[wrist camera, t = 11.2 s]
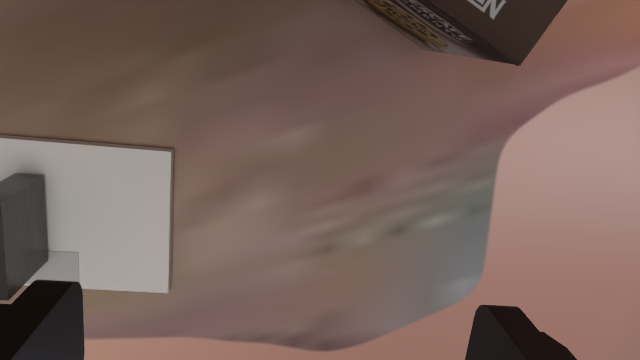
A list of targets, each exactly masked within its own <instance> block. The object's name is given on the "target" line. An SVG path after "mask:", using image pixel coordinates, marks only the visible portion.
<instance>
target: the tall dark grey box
mask: <svg viewBox="0 0 640 360" xmlns="http://www.w3.org/2000/svg"><path fill="white" fill-rule="evenodd" d="M47 261H48V258H47V239H46V220H45V202H44V183H43V175H30V174H17V173H15V174H13V175H11V176H9V177H7V178H6V179H4V180H2V181H0V300H9V299H10V298H11V297H12V296H13V295H14V294H15V293H16V292H17V291H18V290H19V289H20V288H21V287H22V286H23V285H24V284H25V283H26V282H27V281H28V280H29V279H30V278H31V277H32V276H33V275H34V274H35V273H36V272H37V271H38V270H39V269H40V268H41V267H42V266H43V265H44V264H45V263H46V262H47Z"/></svg>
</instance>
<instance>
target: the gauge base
mask: <svg viewBox="0 0 640 360" xmlns="http://www.w3.org/2000/svg"><path fill="white" fill-rule="evenodd" d="M173 162H174V149H170V148H158V147H145V146H133V145H121V144H109V143H96V142H84V141H72V140H60V139H47V138H35V137H23V136H11V135H0V181H2V180H4V179H6V178H7V177H9V176H11V175H13V174H15V173H17V174H30V175H43V183H44V202H45V220H46V239H47V258H48V261H47V262H46V263H45V264H44V265H43V266H42V267H41V268H40V269H39V270H38V271H37V272H36V273H35V274H34V275H33V276H32V277H31V278H30V279H29V280H28V281H27V282H26V283H25V284H24V285H25V286H29V285H30V284H31V283H32V282H34V281H35V280H38V279H39V280H57V281H75V282H79V283H80V285H81V288H82V289H99V290H118V291H137V292H155V293H168V292H169V290H170V288H171V252H172V207H173Z"/></svg>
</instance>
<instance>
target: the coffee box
mask: <svg viewBox="0 0 640 360" xmlns="http://www.w3.org/2000/svg"><path fill="white" fill-rule="evenodd" d="M356 1H357V2H359V3H360V4H362V5H363V6H364V7H366V8H367V9H369V10H370V11H371V12H373V13H374V14H376V15H377V16H378V17H380V18H381V19H383V20H384V21H385V22H387V23H388V24H389V25H391V26H392V27H394V28H395V29H396V30H398V31H399V32H401V33H402V34H403V35H405V36H406V37H408V38H409V39H410V40H412V41H413V42H415V43H416V44H417V45H419V46H420V47H422V48H423V49H425V50H431V51H437V52H443V53H450V54H456V55H462V56H468V57H474V58H480V59H485V60H491V61H497V62H503V63H510V64H515V65H517V66H519V65H521V64H522V62H523V61H524V59H525V58H526V57H527V55H528V54H529V53H530V51H531V50H532V48H533V47H534V46H535V44H536V43H537V42H538V40H539V39H540V37H541V36H542V35H543V33H544V32H545V30H546V29H547V27H548V26H549V25H550V23H551V22H552V20H553V19H554V18H555V16H556V15H557V14H558V12H559V11H560V10H561V8H562V7H563V5H564V4H565V3H566V1H567V0H356Z"/></svg>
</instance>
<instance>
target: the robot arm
mask: <svg viewBox="0 0 640 360" xmlns="http://www.w3.org/2000/svg"><path fill="white" fill-rule="evenodd" d="M0 360H84V324H83V295H82V288H81V285H80V283H79V282H75V281H57V280H39V279H38V280H35V281H34V282H32V283H31V284H30V285H29V286H28V287H27V288H26V290H25V291H24V292H23V293H22V294H21V295H20V296H19V297H18V298H17V299H16V300H15V301H14V302H13V303H12V304H0ZM465 360H577V359H576V358H575V357H574V356H573V355H572V353H571V352H570V351H569V350H568V349H567V348H566V347H565V346H563V345H562V344H560V343H559V342H557V341H556V340H554V339H553V338H551V337H550V336H548V335H547V334H546V333H544V332H539V331H538V329H537V328H536V327H535V326H534V324H532V322H531V321H530V320H529V319H528V317H527V316H526V315H525V314H524V313H523V312H522V310H521V309H520V308H518V307H513V306H495V305H481V306H479V307H478V309H477V310H476V313H475V316H474V321H473V325H472V330H471V335H470V339H469V344H468V349H467V353H466V358H465Z"/></svg>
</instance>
